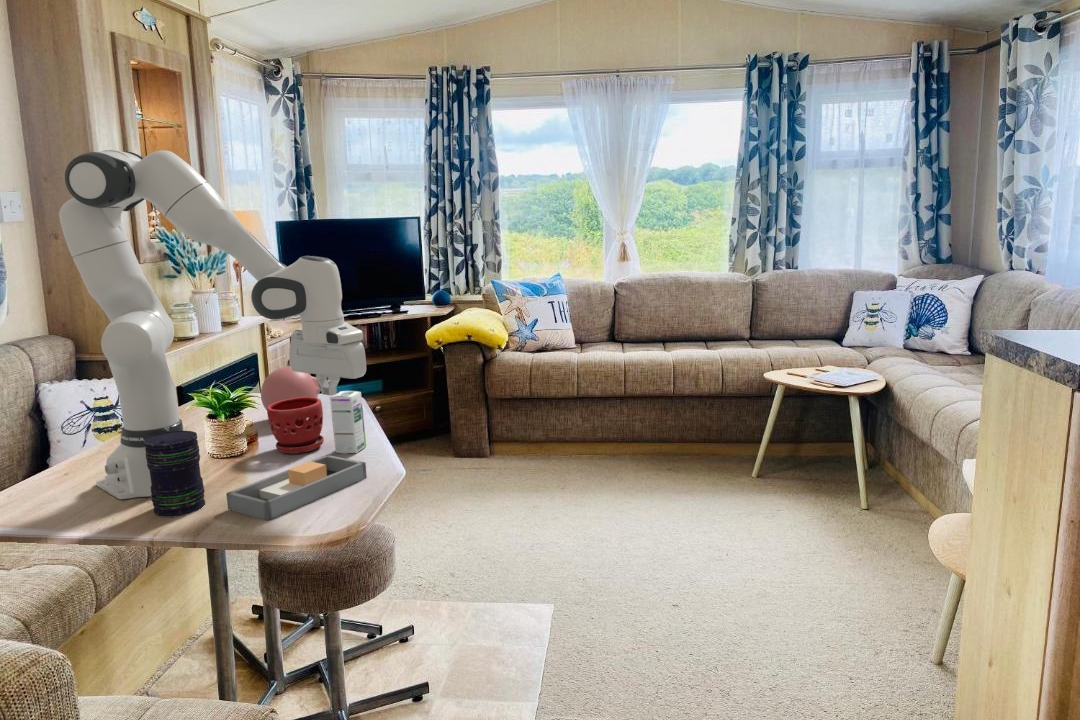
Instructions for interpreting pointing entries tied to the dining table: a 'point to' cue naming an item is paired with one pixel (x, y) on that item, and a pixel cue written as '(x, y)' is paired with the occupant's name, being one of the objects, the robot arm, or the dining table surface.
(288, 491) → the tray box
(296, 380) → the balloon
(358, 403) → the syrup box
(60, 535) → the dining table surface
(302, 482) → the wooden block
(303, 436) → the plant pot
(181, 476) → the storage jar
